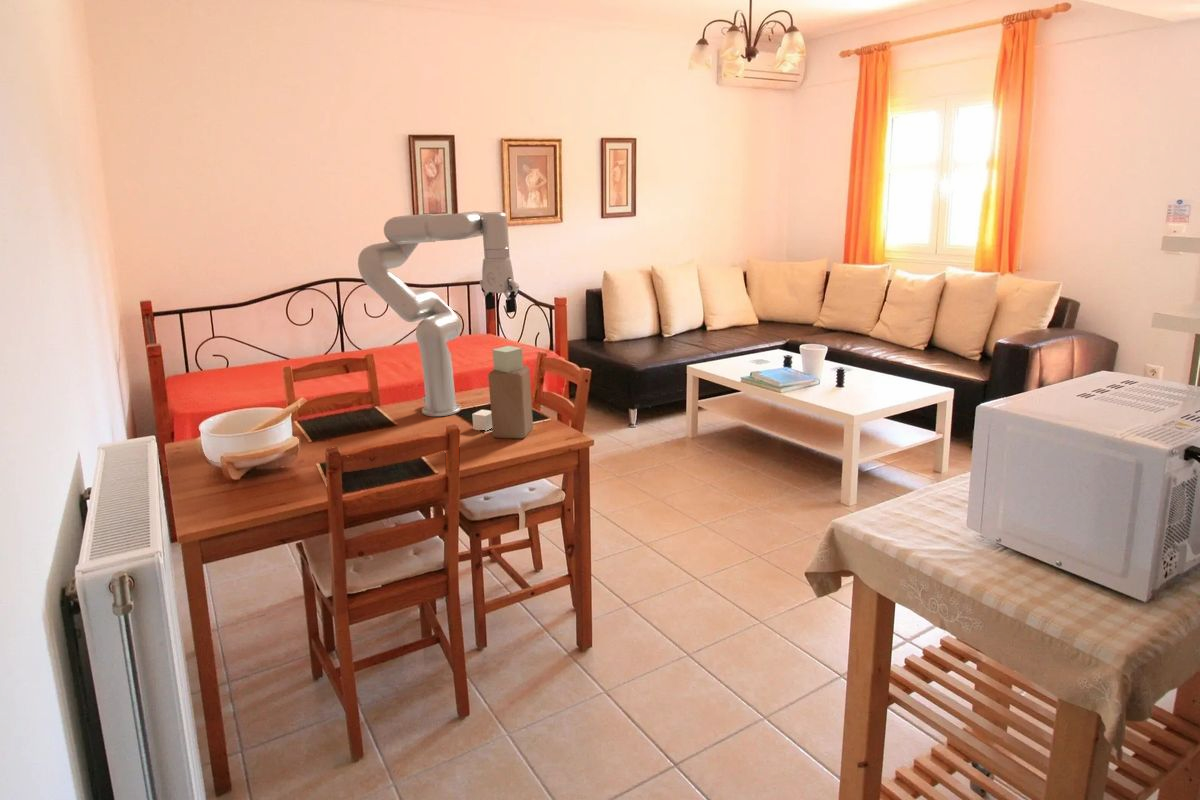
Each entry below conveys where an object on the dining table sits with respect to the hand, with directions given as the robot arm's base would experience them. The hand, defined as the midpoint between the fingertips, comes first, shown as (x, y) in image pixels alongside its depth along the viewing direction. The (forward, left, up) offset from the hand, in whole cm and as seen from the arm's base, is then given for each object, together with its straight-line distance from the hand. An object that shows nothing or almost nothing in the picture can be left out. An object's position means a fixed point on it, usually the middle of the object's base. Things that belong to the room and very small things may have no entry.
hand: (500, 310), depth 232 cm
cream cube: (+3, -12, -34) cm, 36 cm away
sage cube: (+14, -10, -14) cm, 22 cm away
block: (+14, -10, -35) cm, 38 cm away
